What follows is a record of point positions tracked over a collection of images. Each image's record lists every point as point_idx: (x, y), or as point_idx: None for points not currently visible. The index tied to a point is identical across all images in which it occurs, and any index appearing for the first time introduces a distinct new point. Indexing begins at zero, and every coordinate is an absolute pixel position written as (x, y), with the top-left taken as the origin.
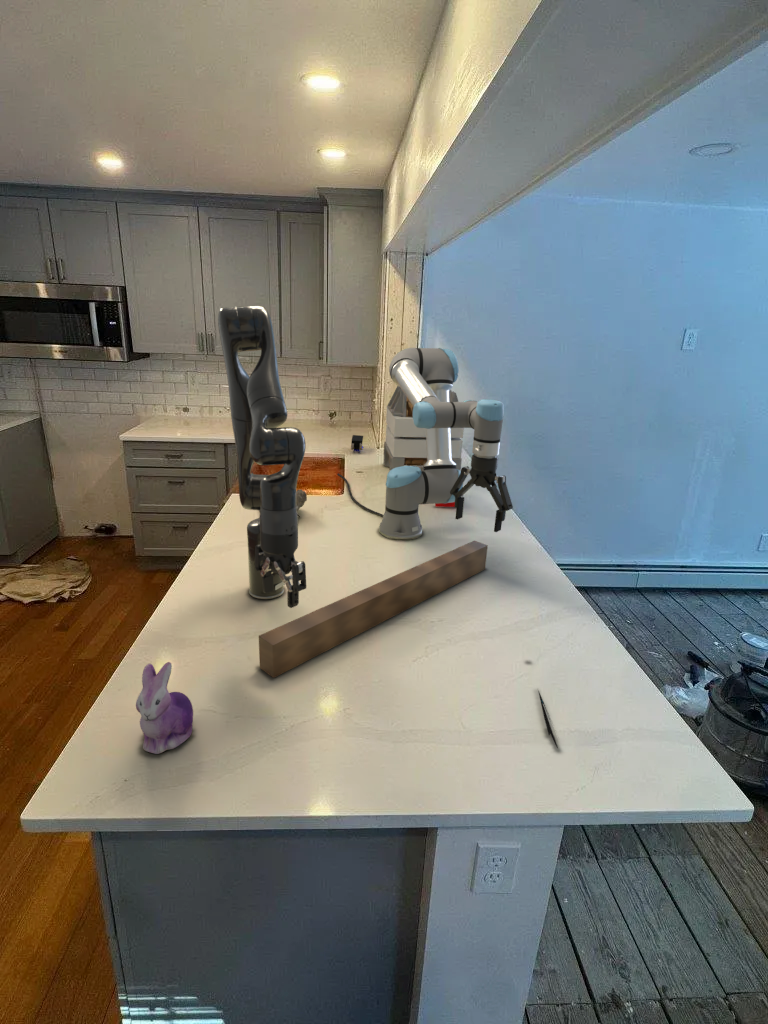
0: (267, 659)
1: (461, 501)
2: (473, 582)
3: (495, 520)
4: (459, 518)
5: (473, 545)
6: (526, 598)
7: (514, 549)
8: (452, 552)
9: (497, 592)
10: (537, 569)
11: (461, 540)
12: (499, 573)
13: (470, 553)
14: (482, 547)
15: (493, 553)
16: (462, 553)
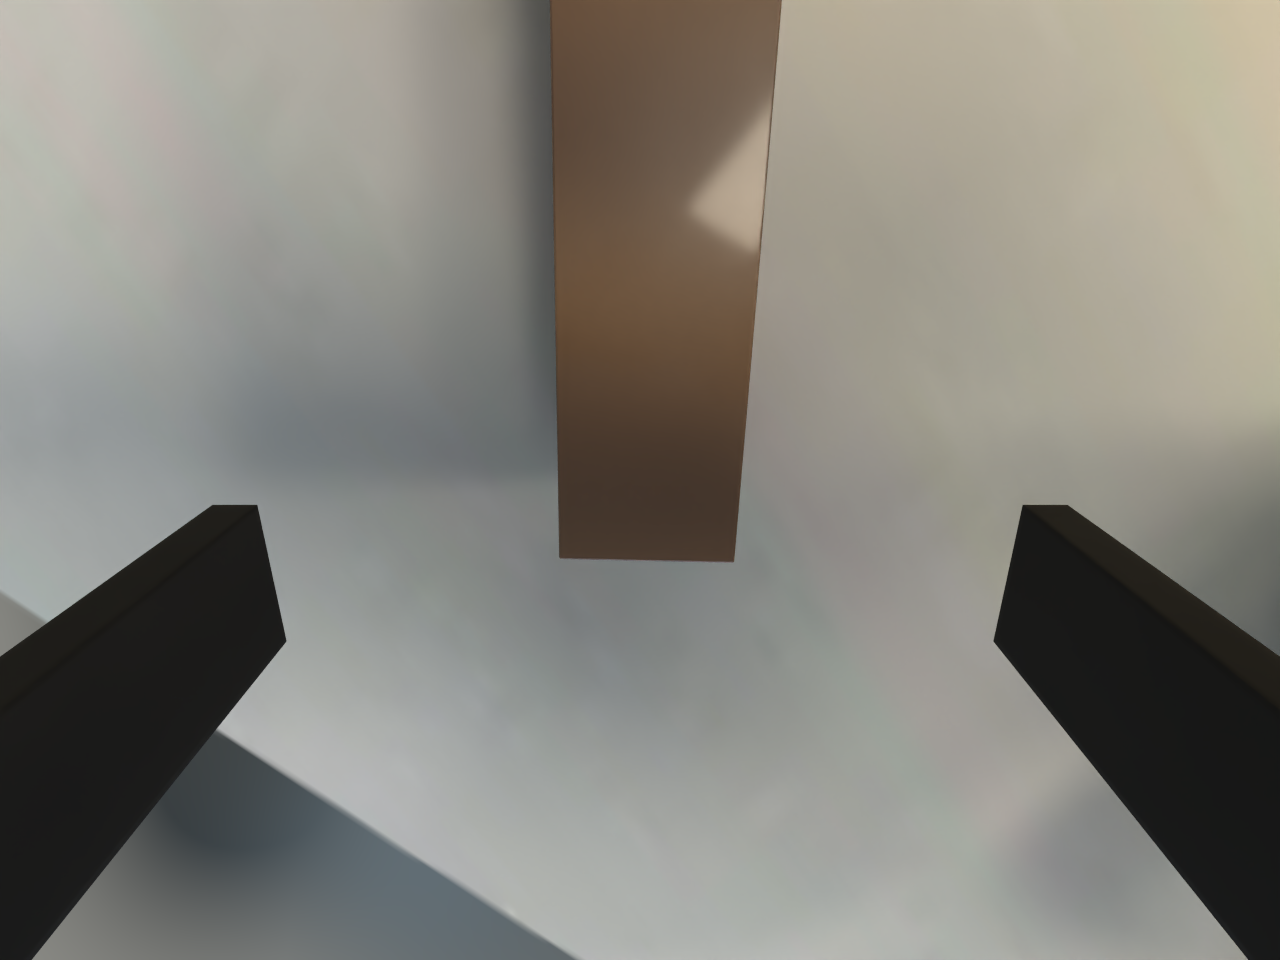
0: None
1: (1268, 840)
2: (498, 178)
3: (108, 618)
4: (1012, 566)
5: (662, 443)
6: (50, 258)
7: (625, 854)
8: (729, 52)
9: (251, 169)
10: (337, 714)
11: (987, 744)
12: (464, 481)
13: (554, 219)
14: (562, 471)
15: (693, 721)
16: (618, 131)
